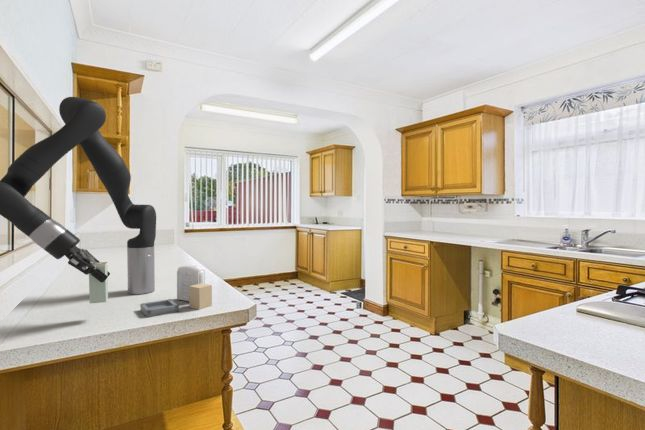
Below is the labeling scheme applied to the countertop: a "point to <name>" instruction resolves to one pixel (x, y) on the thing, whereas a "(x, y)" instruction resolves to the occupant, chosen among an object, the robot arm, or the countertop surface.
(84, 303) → the countertop surface
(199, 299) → the kraft box
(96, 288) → the tea tin
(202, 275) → the photo printer
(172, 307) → the slate tray
